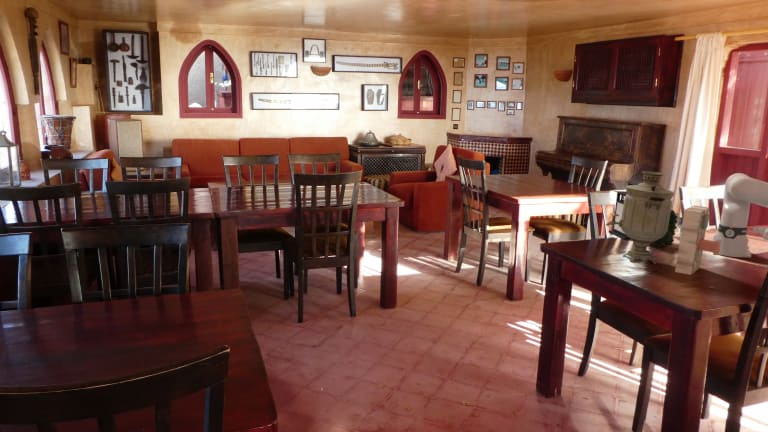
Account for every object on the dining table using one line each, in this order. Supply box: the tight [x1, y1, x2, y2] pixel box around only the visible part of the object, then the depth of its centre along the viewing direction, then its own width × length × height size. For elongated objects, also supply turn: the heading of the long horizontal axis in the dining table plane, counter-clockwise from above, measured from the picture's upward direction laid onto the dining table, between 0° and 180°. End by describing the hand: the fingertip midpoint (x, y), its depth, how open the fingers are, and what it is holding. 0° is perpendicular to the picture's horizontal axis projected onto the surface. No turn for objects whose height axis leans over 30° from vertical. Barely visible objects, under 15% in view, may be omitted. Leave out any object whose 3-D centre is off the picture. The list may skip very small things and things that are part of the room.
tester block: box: [674, 205, 710, 276], centre depth 241 cm, size 16×6×27 cm, turn 139°
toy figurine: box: [652, 209, 678, 249], centre depth 284 cm, size 9×19×25 cm
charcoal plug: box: [681, 213, 710, 230], centre depth 239 cm, size 6×9×6 cm, turn 49°
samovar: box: [605, 171, 675, 265], centre depth 254 cm, size 30×26×40 cm
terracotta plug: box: [698, 239, 721, 256], centre depth 238 cm, size 6×9×6 cm, turn 49°
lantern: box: [608, 172, 643, 241], centre depth 301 cm, size 17×17×35 cm
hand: (753, 229), depth 226 cm, fingers closed
